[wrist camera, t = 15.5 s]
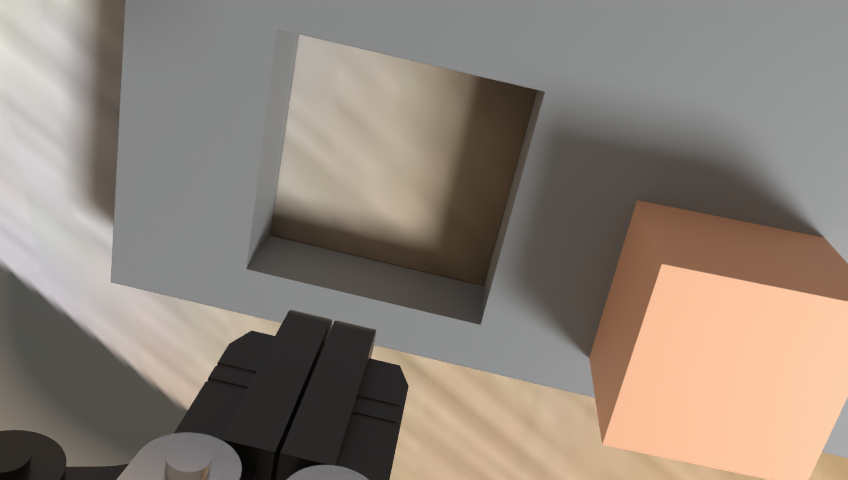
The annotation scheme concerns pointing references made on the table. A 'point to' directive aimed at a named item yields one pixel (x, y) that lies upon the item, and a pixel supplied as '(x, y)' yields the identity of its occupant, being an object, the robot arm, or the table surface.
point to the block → (722, 344)
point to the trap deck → (535, 173)
